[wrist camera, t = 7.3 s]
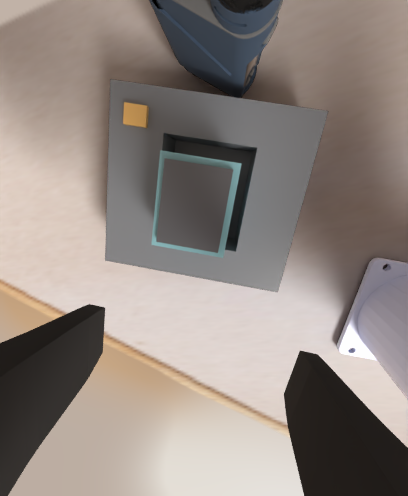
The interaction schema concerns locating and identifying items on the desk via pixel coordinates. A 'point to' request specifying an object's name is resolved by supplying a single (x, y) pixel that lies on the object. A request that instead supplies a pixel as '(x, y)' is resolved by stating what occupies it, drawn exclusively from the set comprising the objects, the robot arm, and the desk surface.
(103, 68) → the desk surface
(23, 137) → the desk surface
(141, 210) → the socket
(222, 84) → the vaping device
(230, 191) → the plug
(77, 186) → the desk surface
